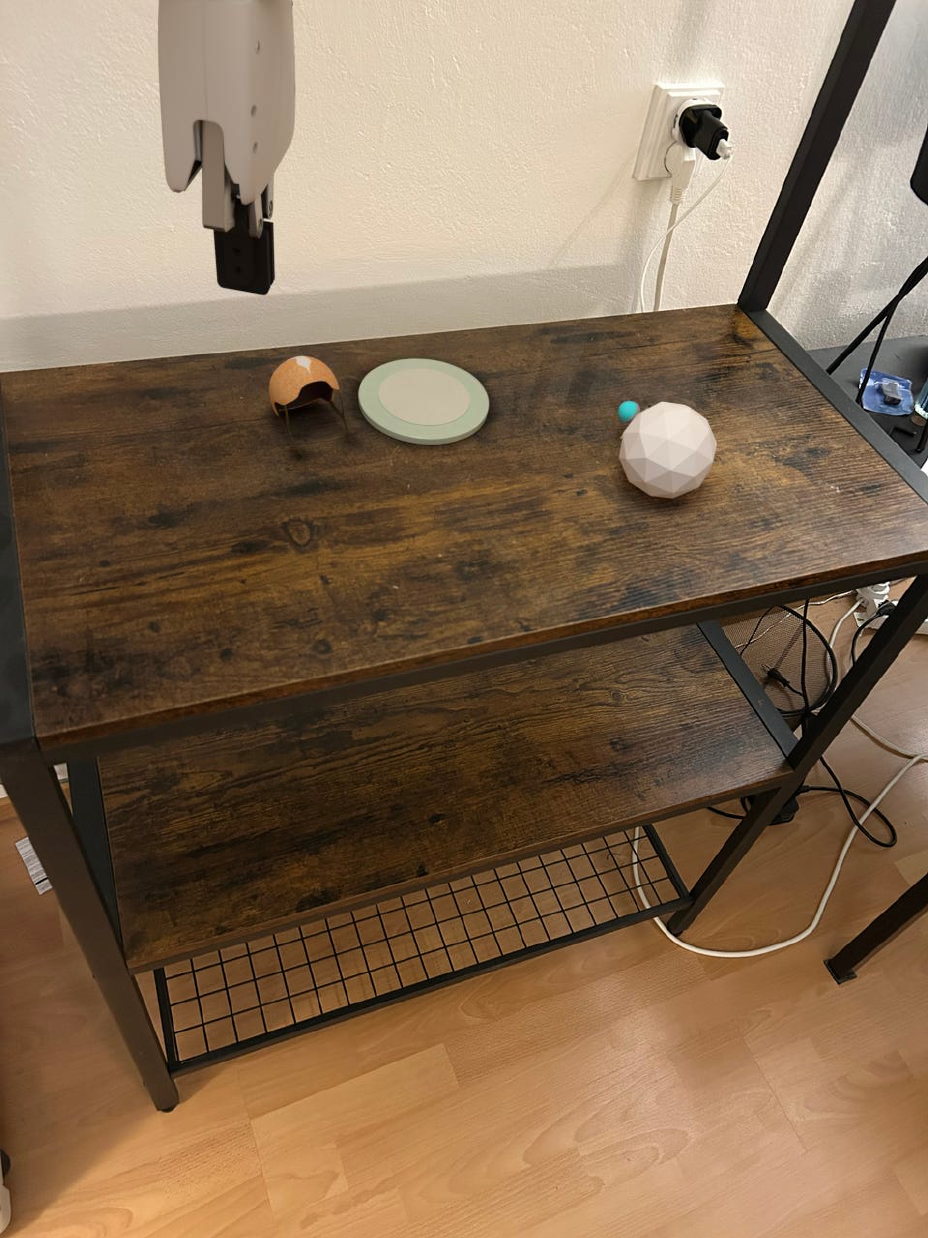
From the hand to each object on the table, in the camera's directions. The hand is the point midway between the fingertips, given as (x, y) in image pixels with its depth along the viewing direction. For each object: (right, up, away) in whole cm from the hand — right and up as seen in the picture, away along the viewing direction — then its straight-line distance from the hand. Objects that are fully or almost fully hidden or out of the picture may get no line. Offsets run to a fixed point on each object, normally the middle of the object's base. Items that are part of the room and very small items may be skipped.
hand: (246, 284), depth 60 cm
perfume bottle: (+30, -8, +26) cm, 40 cm away
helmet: (0, -4, +25) cm, 25 cm away
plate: (+10, -1, +29) cm, 30 cm away
